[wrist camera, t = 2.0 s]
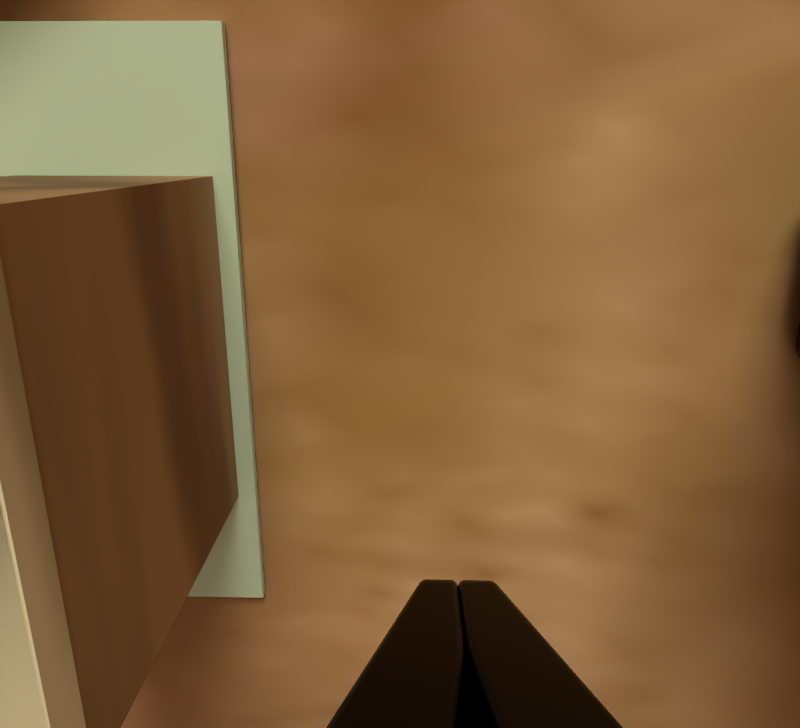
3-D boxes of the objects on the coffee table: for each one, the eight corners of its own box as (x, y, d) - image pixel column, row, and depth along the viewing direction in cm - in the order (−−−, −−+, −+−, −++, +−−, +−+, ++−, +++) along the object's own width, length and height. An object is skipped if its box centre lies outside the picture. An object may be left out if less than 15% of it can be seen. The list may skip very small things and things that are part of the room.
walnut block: (214, 174, 17) (-56, 207, 7) (240, 497, 19) (71, 832, 10) (12, 173, 17) (-518, 204, 7) (67, 495, 20) (-263, 824, 10)
